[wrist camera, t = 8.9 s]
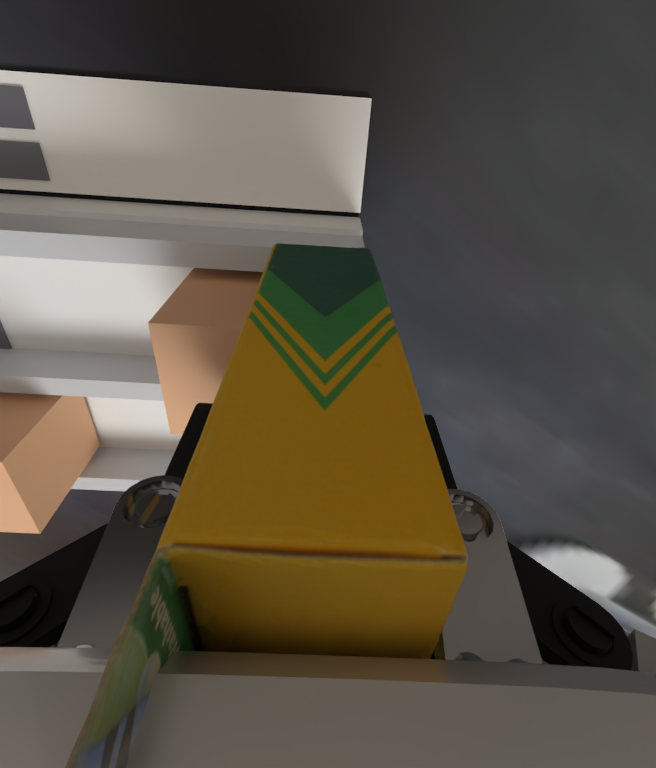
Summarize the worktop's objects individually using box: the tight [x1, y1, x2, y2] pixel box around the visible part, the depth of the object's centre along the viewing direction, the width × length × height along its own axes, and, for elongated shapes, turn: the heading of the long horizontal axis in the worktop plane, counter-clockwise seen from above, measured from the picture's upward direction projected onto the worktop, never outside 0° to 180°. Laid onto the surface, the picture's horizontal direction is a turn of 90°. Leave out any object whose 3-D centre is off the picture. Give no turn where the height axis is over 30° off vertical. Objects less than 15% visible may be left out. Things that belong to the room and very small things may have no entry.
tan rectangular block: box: [148, 268, 263, 435], centre depth 14 cm, size 3×4×5 cm
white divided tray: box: [0, 70, 372, 491], centre depth 16 cm, size 16×16×4 cm
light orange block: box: [0, 392, 100, 534], centre depth 16 cm, size 3×4×5 cm
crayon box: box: [65, 243, 468, 768], centre depth 9 cm, size 7×3×12 cm, turn 177°
